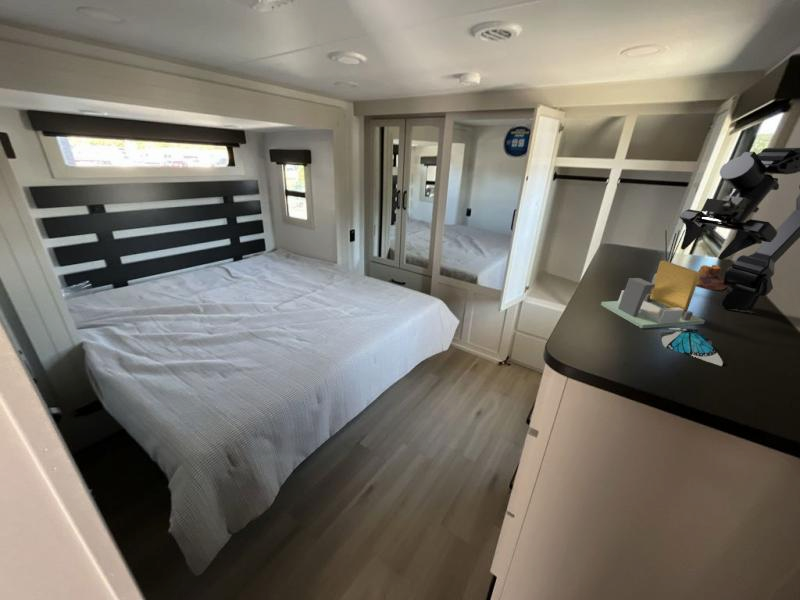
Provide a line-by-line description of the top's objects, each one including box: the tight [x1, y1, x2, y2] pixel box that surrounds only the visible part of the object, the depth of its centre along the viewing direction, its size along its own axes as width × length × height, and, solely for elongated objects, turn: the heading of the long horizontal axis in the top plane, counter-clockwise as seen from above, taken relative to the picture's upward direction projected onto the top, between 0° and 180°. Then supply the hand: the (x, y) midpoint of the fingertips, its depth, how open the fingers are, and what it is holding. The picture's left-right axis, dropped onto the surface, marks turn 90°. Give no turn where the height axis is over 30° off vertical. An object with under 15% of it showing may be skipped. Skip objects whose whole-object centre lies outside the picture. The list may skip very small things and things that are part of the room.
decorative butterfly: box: [659, 327, 724, 367], centre depth 73 cm, size 10×6×10 cm
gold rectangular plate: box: [649, 260, 700, 316], centre depth 87 cm, size 1×10×13 cm, turn 11°
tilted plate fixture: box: [600, 277, 706, 329], centre depth 87 cm, size 20×14×10 cm
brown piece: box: [696, 264, 728, 291], centre depth 112 cm, size 12×12×7 cm
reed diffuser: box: [651, 229, 686, 284], centre depth 105 cm, size 10×7×20 cm
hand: (699, 253), depth 83 cm, fingers open, 9 cm apart
